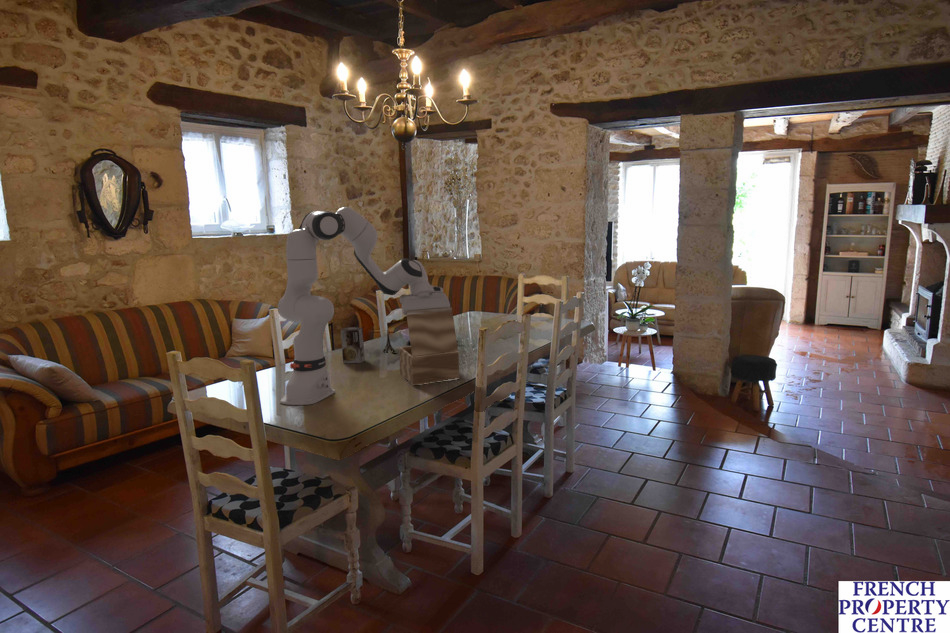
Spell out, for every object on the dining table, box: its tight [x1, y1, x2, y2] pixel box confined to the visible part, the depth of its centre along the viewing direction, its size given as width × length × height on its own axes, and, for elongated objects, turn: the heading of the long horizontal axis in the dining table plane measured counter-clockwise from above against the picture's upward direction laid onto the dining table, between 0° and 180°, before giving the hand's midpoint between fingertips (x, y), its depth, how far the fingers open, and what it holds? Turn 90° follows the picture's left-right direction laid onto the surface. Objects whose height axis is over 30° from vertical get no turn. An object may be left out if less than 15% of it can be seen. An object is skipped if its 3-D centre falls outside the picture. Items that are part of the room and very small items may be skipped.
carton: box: [398, 345, 460, 386], centre depth 244 cm, size 20×20×12 cm
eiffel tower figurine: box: [371, 328, 396, 355], centre depth 291 cm, size 15×10×13 cm
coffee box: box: [340, 326, 365, 364], centre depth 273 cm, size 9×6×16 cm
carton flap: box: [406, 306, 459, 356], centre depth 235 cm, size 18×19×1 cm
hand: (430, 320), depth 236 cm, fingers open, 8 cm apart
